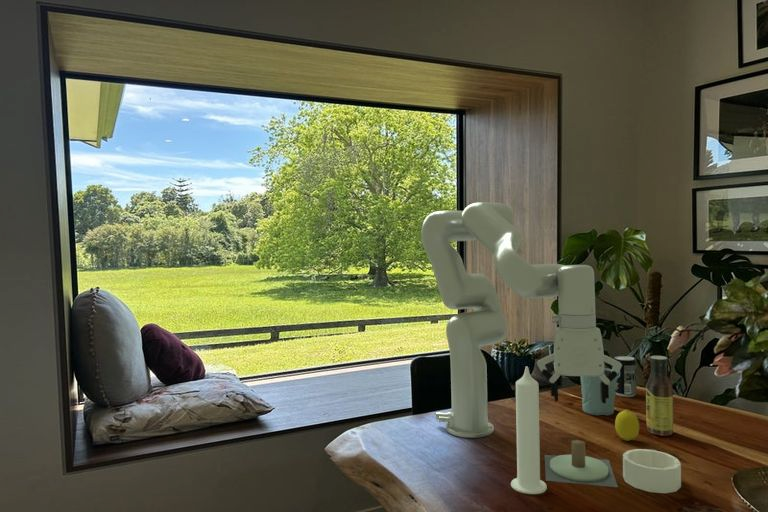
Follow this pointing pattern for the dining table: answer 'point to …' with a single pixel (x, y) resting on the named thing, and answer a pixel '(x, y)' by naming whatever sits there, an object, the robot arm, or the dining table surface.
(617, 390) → the beverage can
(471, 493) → the dining table surface
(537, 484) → the candle
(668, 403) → the sauce bottle
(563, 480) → the mat
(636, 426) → the lemon
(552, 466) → the lid
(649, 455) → the bowl
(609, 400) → the blue-green cup
